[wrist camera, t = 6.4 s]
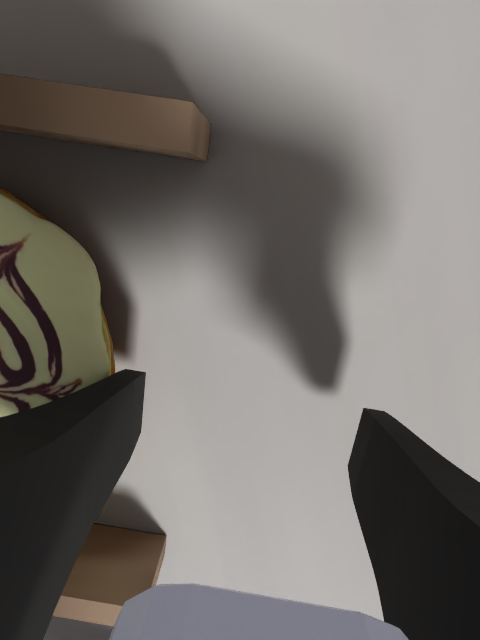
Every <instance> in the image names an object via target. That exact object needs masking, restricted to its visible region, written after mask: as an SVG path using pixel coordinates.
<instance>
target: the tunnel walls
mask: <svg viewBox="0 0 480 640" xmlns="http://www.w3.org/2000/svg"><path fill="white" fill-rule="evenodd" d="M0 131H5V132H12V133H18V134H25V135H32V136H39V137H45V138H52V139H59V140H66V141H72V142H79V143H86V144H92V145H99V146H106V147H113V148H119V149H126V150H133V151H140V152H146V153H153V154H160V155H167V156H173V157H180V158H187V159H194V160H200V161H207V159H208V150H209V141H210V131H211V123H210V122H209V121H208V120H207V118H206V117H205V116H204V115H203V114H202V113H201V111H200V110H199V109H198V108H197V107H196V105H195V104H194V103H193V102H190V101H183V100H176V99H169V98H163V97H156V96H149V95H142V94H135V93H128V92H121V91H114V90H108V89H101V88H94V87H87V86H80V85H73V84H66V83H59V82H53V81H46V80H39V79H32V78H25V77H18V76H11V75H4V74H0ZM165 544H166V536H165V535H159V534H153V533H147V532H141V531H135V530H129V529H123V528H117V527H111V526H105V525H99V524H93V525H92V527H91V529H90V531H89V533H88V535H87V537H86V539H85V541H84V544H83V546H82V548H81V550H80V553H79V555H78V557H77V559H76V562H75V564H74V566H73V568H72V571H71V573H70V575H69V577H68V580H67V582H66V585H65V587H64V589H63V592H62V594H61V596H60V599H59V601H58V603H57V606H56V608H55V610H54V613H53V615H52V616H56V617H61V618H67V619H73V620H79V621H85V622H90V623H96V624H102V625H108V626H114V624H115V622H116V620H117V618H118V615H119V613H120V611H121V609H122V607H123V605H124V603H125V601H127V600H129V599H131V598H133V597H135V596H136V595H138V594H140V593H142V592H144V591H146V590H148V589H150V588H151V587H153V586H156V582H157V579H158V575H159V572H160V568H161V565H162V561H163V558H164V553H165Z"/></svg>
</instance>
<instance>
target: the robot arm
mask: <svg viewBox="0 0 480 640" xmlns="http://www.w3.org/2000/svg"><path fill="white" fill-rule="evenodd" d="M145 376H146V372H140V371H134V370H128V369H125V370H122V371H119V372H117V373H115V374H112V375H110V376H108V377H106V378H104V379H102V380H100V381H98V382H95V383H93V384H91V385H89V386H87V387H85V388H82V389H80V390H78V391H76V392H73V393H71V394H68V395H66V396H63V397H61V398H58V399H56V400H53V401H51V402H48V403H46V404H43V405H40V406H37V407H34V408H31V409H28V410H25V411H21V412H18V413H15V414H11V415H8V416H4V417H0V640H43V638H44V635H45V633H46V630H47V628H48V625H49V623H50V620H51V618H52V615H53V613H54V610H55V608H56V606H57V603H58V601H59V599H60V596H61V594H62V592H63V589H64V587H65V585H66V582H67V580H68V577H69V575H70V573H71V571H72V568H73V566H74V564H75V562H76V559H77V557H78V555H79V553H80V550H81V548H82V546H83V544H84V541H85V539H86V537H87V535H88V533H89V531H90V529H91V527H92V525H93V524H94V522H95V520H96V518H97V516H98V515H99V513H100V511H101V510H102V508H103V506H104V504H105V503H106V501H107V499H108V497H109V496H110V494H111V492H112V490H113V489H114V487H115V485H116V483H117V482H118V480H119V478H120V476H121V475H122V473H123V471H124V469H125V467H126V466H127V464H128V462H129V460H130V458H131V455H132V453H133V451H134V448H135V446H136V443H137V441H138V438H139V435H140V433H141V425H142V413H143V400H144V388H145ZM348 471H349V479H350V486H351V492H352V498H353V502H354V505H355V509H356V512H357V516H358V519H359V523H360V526H361V530H362V533H363V536H364V540H365V543H366V546H367V550H368V553H369V557H370V560H371V563H372V567H373V570H374V574H375V578H376V582H377V586H378V590H379V595H380V601H381V606H382V611H383V617H384V622H383V621H381V620H378V619H376V618H373V617H371V616H368V615H366V614H363V613H360V612H356V611H350V610H344V609H338V608H333V607H327V606H321V605H315V604H310V603H304V602H298V601H292V600H286V599H281V598H275V597H269V596H263V595H258V594H252V593H246V592H240V591H235V590H229V589H223V588H217V587H211V586H206V585H200V584H159V585H156V586H153V587H151V588H150V589H148V590H146V591H144V592H142V593H140V594H138V595H136V596H135V597H133V598H131V599H129V600H127V601H125V603H124V605H123V607H122V609H121V611H120V613H119V615H118V618H117V620H116V622H115V624H114V626H113V629H112V631H111V634H110V637H109V640H480V482H478V481H477V480H475V479H474V478H472V477H471V476H469V475H468V474H466V473H465V472H463V471H462V470H461V469H459V468H458V467H457V466H455V465H454V464H452V463H451V462H450V461H448V460H447V459H446V458H444V457H443V456H442V455H440V454H439V453H438V452H436V451H435V450H434V449H433V448H431V447H430V446H429V445H427V444H426V443H425V442H424V441H422V440H421V439H420V438H419V437H417V436H416V435H415V434H414V433H413V432H411V431H410V430H409V429H408V428H406V427H405V426H404V425H403V424H401V423H400V422H399V421H398V420H396V419H395V418H394V417H392V416H391V415H389V414H388V413H386V412H385V411H379V410H373V409H367V408H363V412H362V416H361V419H360V423H359V427H358V430H357V434H356V438H355V441H354V445H353V449H352V452H351V456H350V460H349V463H348Z"/></svg>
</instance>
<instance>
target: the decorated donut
mask: <svg viewBox="0 0 480 640" xmlns="http://www.w3.org/2000/svg"><path fill="white" fill-rule="evenodd" d="M100 292H101V288H100V282H99V278H98V273H97V270H96V266H95V264H94V262H93V261H92V259H91V258H90V256H89V254H88V252H87V251H86V250H85V249H84V248H83V247H82V246H81V245H80V244H79V243H78V242H77V241H76V240H75V239H74V238H73V237H71V236H70V235H69V234H68V233H66V232H65V231H64V230H62V229H61V228H60V227H58V226H57V225H55V224H53V223H51V222H49V221H48V220H47V219H46V218H45V217H44V216H42V215H41V214H39V213H37V212H35V211H34V210H33V209H32V208H31V207H29V206H28V205H26V204H25V203H24V202H22V201H21V200H19V199H17V198H15V197H14V196H12V194H11V193H10V192H8V191H6V190H4V189H2V188H0V417H4V416H8V415H11V414H15V413H18V412H21V411H25V410H28V409H31V408H34V407H37V406H40V405H43V404H46V403H48V402H51V401H53V400H56V399H58V398H61V397H63V396H66V395H68V394H71V393H73V392H76V391H78V390H80V389H82V388H85V387H87V386H89V385H91V384H93V383H95V382H98V381H100V380H102V379H104V378H106V377H108V376H110V375H112V374H115V362H114V356H113V342H112V339H111V336H110V332H109V329H108V326H107V320H106V318H105V315H104V313H103V309H102V306H101V304H100Z"/></svg>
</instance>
